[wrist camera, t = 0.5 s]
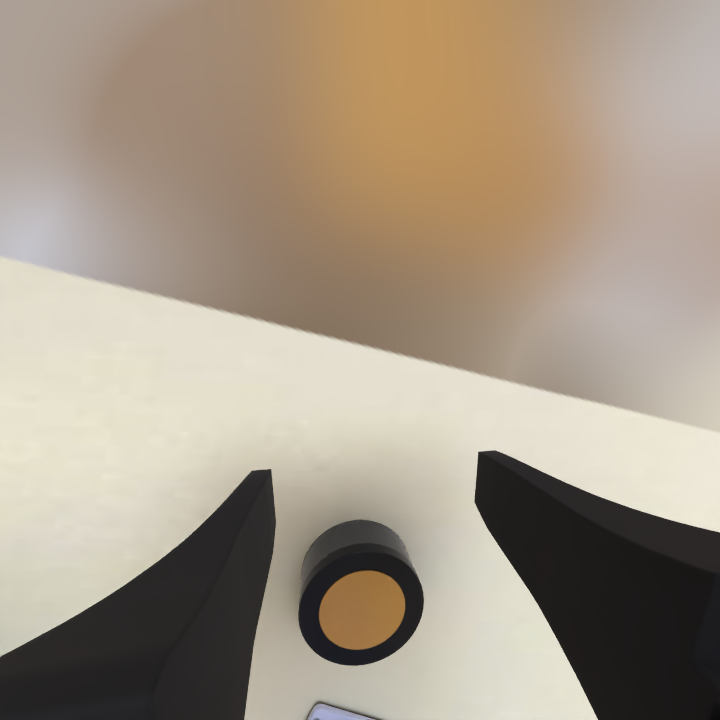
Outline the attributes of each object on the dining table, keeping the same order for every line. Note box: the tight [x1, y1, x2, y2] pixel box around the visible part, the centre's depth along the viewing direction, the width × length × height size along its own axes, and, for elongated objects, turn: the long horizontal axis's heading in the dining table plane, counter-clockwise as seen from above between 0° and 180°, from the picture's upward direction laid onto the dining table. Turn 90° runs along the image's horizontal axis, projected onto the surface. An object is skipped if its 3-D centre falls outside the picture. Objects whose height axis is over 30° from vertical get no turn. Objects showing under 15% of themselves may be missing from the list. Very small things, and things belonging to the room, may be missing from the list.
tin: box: [298, 520, 424, 666], centre depth 22 cm, size 8×8×3 cm
